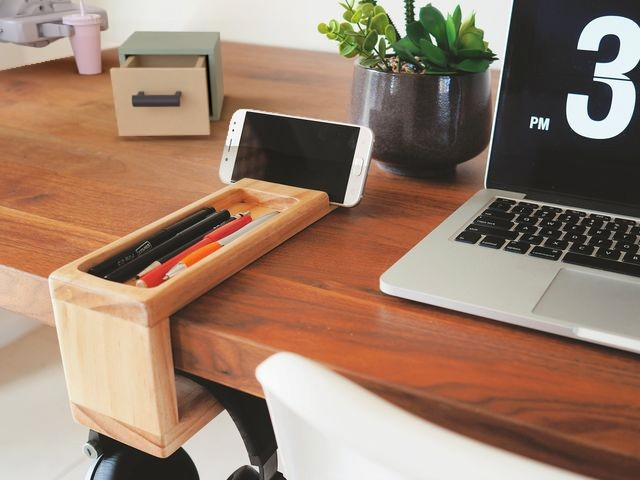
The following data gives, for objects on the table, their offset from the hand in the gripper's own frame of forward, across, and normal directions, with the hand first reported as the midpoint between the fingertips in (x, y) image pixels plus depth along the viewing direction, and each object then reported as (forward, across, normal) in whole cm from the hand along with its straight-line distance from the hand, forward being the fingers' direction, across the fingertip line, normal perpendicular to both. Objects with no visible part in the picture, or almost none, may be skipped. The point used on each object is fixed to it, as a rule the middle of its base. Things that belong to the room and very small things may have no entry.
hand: (88, 28), depth 125 cm
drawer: (+36, -22, +7) cm, 42 cm away
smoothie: (-1, 0, +8) cm, 8 cm away
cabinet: (+29, -12, +8) cm, 32 cm away
